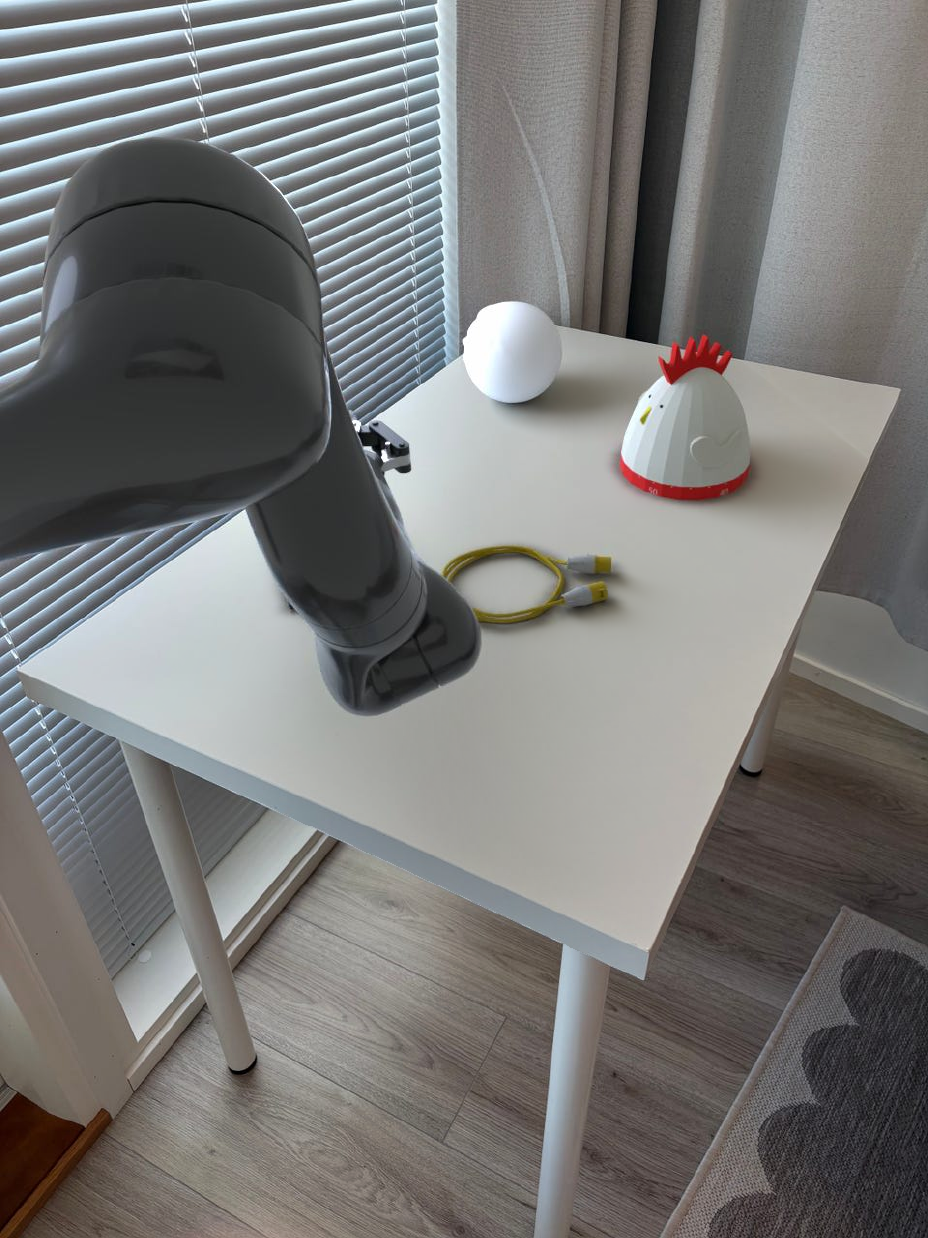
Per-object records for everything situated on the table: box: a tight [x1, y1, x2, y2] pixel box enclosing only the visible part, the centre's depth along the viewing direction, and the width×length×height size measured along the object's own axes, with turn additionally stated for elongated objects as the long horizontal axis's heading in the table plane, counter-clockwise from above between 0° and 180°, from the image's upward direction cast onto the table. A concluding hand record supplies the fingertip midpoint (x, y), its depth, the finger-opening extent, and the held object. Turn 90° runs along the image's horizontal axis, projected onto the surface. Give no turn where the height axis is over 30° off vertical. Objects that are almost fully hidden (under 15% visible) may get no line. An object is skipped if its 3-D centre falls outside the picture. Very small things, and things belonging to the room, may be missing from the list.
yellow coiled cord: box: [441, 545, 612, 624], centre depth 89 cm, size 12×16×2 cm
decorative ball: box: [462, 300, 563, 404], centre depth 116 cm, size 12×12×12 cm
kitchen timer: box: [619, 334, 751, 501], centre depth 100 cm, size 14×14×15 cm
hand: (313, 420), depth 86 cm, fingers closed on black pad, 4 cm apart
